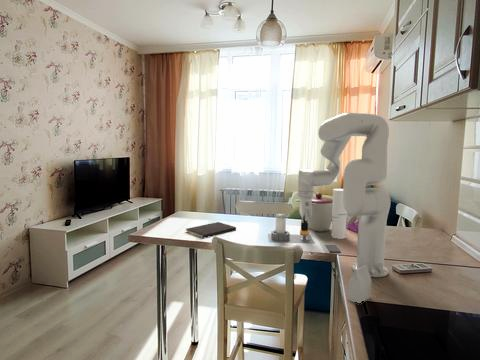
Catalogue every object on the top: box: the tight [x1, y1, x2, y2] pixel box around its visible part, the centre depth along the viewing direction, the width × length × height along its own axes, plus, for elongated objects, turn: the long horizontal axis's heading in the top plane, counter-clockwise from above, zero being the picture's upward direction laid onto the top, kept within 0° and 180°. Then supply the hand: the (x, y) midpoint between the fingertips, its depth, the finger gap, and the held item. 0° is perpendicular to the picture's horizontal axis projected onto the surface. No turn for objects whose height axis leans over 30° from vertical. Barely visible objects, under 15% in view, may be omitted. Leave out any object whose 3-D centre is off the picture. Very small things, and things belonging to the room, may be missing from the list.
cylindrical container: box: [330, 188, 347, 240], centre depth 158 cm, size 7×7×25 cm
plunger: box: [299, 229, 310, 240], centre depth 152 cm, size 4×4×4 cm
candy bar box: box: [346, 213, 361, 234], centre depth 171 cm, size 11×5×16 cm, turn 22°
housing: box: [267, 229, 316, 244], centre depth 152 cm, size 14×22×4 cm, turn 87°
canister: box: [308, 192, 333, 232], centre depth 172 cm, size 18×18×21 cm
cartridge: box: [274, 213, 287, 234], centre depth 152 cm, size 5×5×12 cm
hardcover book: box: [185, 221, 237, 239], centre depth 169 cm, size 16×23×2 cm
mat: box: [324, 244, 342, 254], centre depth 140 cm, size 9×9×1 cm
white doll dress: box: [347, 265, 372, 304], centre depth 94 cm, size 4×7×10 cm, turn 130°
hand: (304, 230), depth 152 cm, fingers closed
